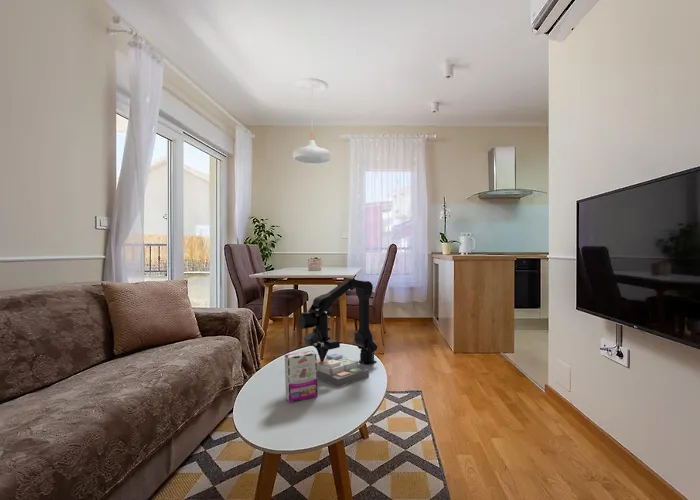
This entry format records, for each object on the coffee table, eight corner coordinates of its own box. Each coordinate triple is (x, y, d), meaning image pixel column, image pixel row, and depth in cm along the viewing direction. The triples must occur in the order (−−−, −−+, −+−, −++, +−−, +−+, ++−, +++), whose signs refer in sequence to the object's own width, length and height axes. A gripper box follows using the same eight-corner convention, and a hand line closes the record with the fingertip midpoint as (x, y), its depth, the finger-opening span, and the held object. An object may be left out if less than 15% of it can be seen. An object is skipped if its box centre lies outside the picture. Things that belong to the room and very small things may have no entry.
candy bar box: (312, 392, 142) (312, 350, 142) (317, 397, 137) (317, 353, 137) (284, 398, 136) (284, 354, 136) (288, 403, 132) (288, 357, 132)
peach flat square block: (323, 363, 167) (323, 358, 167) (330, 365, 163) (330, 361, 163) (313, 365, 164) (313, 360, 164) (320, 368, 160) (320, 363, 160)
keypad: (336, 365, 175) (336, 353, 175) (368, 376, 159) (368, 364, 159) (306, 373, 164) (306, 361, 164) (338, 386, 147) (338, 373, 147)
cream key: (333, 363, 162) (332, 359, 162) (340, 366, 158) (340, 361, 158) (323, 366, 158) (323, 361, 158) (331, 369, 154) (331, 364, 154)
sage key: (345, 363, 166) (345, 358, 166) (353, 366, 163) (353, 361, 163) (336, 365, 163) (336, 361, 163) (344, 368, 159) (344, 363, 159)
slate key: (335, 357, 172) (335, 352, 172) (342, 359, 168) (342, 354, 168) (326, 359, 168) (326, 354, 168) (333, 361, 164) (333, 357, 164)
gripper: (294, 325, 165) (295, 360, 165) (319, 331, 151) (320, 369, 151) (314, 322, 172) (315, 355, 172) (340, 327, 158) (340, 364, 158)
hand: (322, 360), depth 163 cm, fingers closed, pressing on peach flat square block
